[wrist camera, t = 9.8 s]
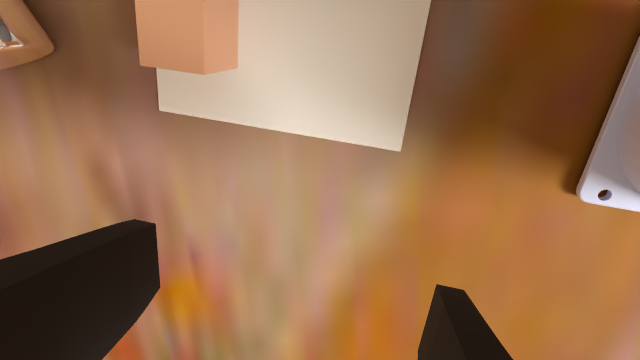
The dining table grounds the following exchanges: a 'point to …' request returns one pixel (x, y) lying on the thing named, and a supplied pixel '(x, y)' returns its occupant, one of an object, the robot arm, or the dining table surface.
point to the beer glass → (20, 35)
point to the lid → (288, 63)
